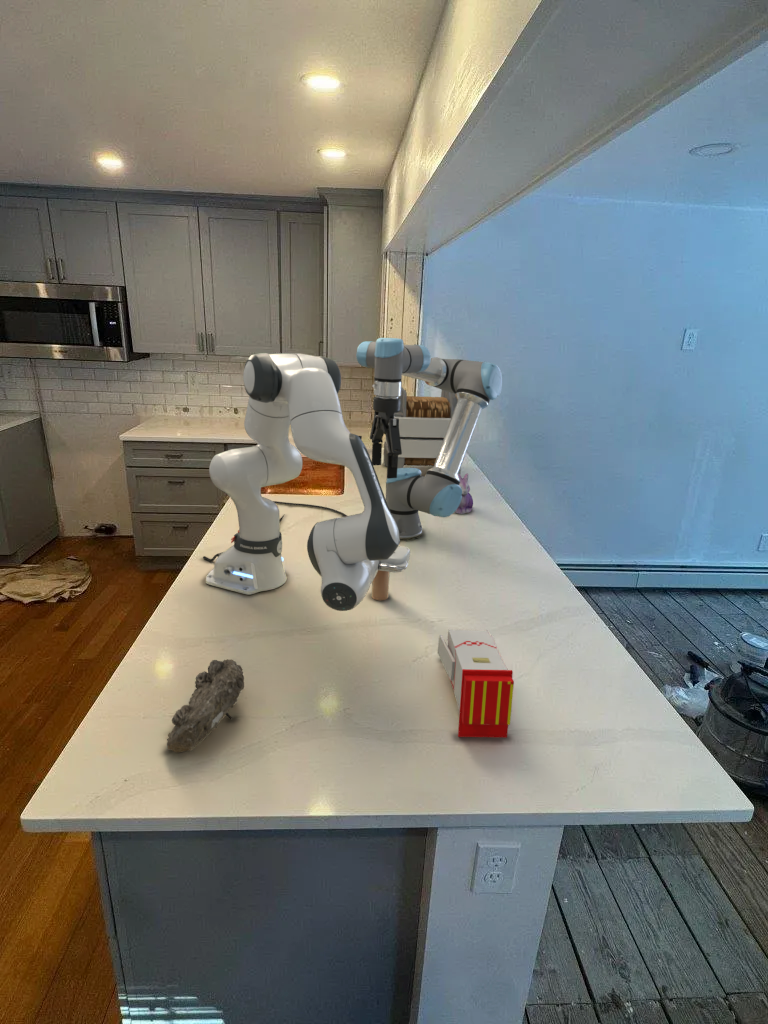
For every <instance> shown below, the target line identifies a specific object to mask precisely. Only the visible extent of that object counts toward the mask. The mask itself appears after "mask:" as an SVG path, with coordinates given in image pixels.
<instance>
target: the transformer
mask: <svg viewBox="0 0 768 1024" xmlns="http://www.w3.org/2000/svg"><path fill="white" fill-rule="evenodd" d="M440 393H441V394H440V396H415V395H414V396H413V395H412V396H411V395H407V394H408V393H407V390H406V389H404V388H403V387H401V396H399V398H400V399H401V402H400V411H399V412H395V413H394V418H398V419H399V433H400V442H401V450H402V454H401V455H398V466H397V469H398V468H405V466H406V467H407V466H411V467H412V466H413V467H415V466H416V467H417V466H418V467H434V464H435V461H436V458H437V456H438V453H439V450H440V448H441V445H442V442H443V439H444V437H445V434H446V431H447V428H448V426H449V423H450V420H451V418H452V415H453V412H454V409H455V407H456V404H457V399H456V397H455V394H454V393H450V392H447V391H444V390H442V389H441V392H440ZM388 453H389V450H388V445H387V440H386V437H385V438H384V442H383V466H384V467H387V462H388V456H387V454H388ZM461 472H462V467H461V468H460V471H459V473H458V474H460V475H461Z"/></svg>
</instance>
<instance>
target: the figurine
mask: <svg viewBox="0 0 768 1024" xmlns="http://www.w3.org/2000/svg"><path fill="white" fill-rule="evenodd" d="M458 478H459V480H460V484H459V486H460V487H461V489H462V499H461V502H460V505H459V507H458V508H457V510H456V511H455V512H454V513H455V514H460V515H464V514H469V513H471V512H472V511H473V507H474V499H473V496H472V495H471V493H470V491H471V487H470V484H469V482H468V480H469V473H465V474H464V476H463V477H462V475H461V474H458Z"/></svg>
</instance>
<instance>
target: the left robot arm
mask: <svg viewBox="0 0 768 1024" xmlns="http://www.w3.org/2000/svg"><path fill="white" fill-rule="evenodd" d="M242 373H243V374H242V381H243V387H244V390H245V393H246V394H247V395H248V402H247V406H246V411H245V417H244V423H243V426H244V430H245V433H246V434H247V436H248V437H249V438H250V439H251V440H253V441H254V442H256V443H257V444H256V445H253V446H248V447H247V446H246V447H239V448H231V449H228V450H225V451H222V452H220V453H217V454H215V455H214V456H213V457H212V459H211V461H210V462H209V467H208V474H209V477H210V480H211V482H212V484H213V485H214V486H215V487H216V488H217V489H218V490H219V491H222V492H223V493H224V494H226V496H228V497H229V498H230V499H231V500H232V502H233V503H234V505H235V508H236V509H235V510H236V513H237V519H238V530H237V532H236V533H235V534H234V535H233V537H231V539H230V543H231V544H232V543H234V544H233V545H231V546H230V547H229V548H227V549H226V550H224V551H221V552H219V553H216V554H214V556H213V557H212V558H210V557H207V556H205V555H203V556H202V559H203V560H206V561H207V562H213V561H214V566H213V569H211V570H210V571H209V572H208V573H207V575H206V576H205V584H206V585H209V586H213V587H217V588H221V589H224V590H228V591H232V592H236V593H239V594H243V595H249V596H250V595H251V596H252V595H254V594H257V593H259V592H266V591H271V590H274V589H278V588H279V587H281V586H283V585H284V584H286V582H287V580H288V579H287V578H288V577H287V574H286V571H285V567H284V563H283V562H284V557H283V556H282V552H283V537H282V532H281V522H280V519H281V517H280V508H279V506H278V505H277V503H275V502H273V501H274V500H271V499H269V498H268V497H264V496H262V488H264V487H270V486H275V485H281V484H285V483H287V482H289V481H292V480H294V479H296V478H298V477H299V476H300V474H302V473H301V472H302V470H303V457H302V455H303V456H305V457H306V458H308V459H310V460H313V461H315V462H318V463H319V462H320V463H323V464H324V463H325V464H332V465H339V466H343V467H345V468H347V469H348V470H349V471H350V472H351V474H352V476H353V479H354V481H355V484H356V487H357V491H358V493H359V496H360V499H361V501H362V504H363V507H364V508H363V511H362V512H360V513H355V514H350V515H347V516H346V517H345V516H342V517H334V518H330V519H326V520H321V521H317V522H316V523H315V524H314V525H313V526H312V528H311V530H310V532H309V535H308V539H307V543H306V551H307V554H308V559H309V560H310V563H311V566H312V567H313V569H314V570H315V571H316V573H317V574H318V575H319V576H320V578H321V586H320V596H321V599H322V601H323V603H324V604H325V605H326V606H327V607H329V608H331V609H332V610H334V611H340V612H346V611H351V610H353V609H354V608H356V607H358V606H359V605H360V604H361V602H362V601H363V600H364V599H365V597H366V595H367V594H368V591H369V590H370V587H371V585H372V582H373V580H374V578H375V576H376V574H377V572H378V570H380V571H388V572H390V573H401V572H403V571H404V570H406V569H407V568H408V565H409V563H410V559H411V558H410V557H411V550H410V548H409V547H407V546H401V545H400V543H401V540H400V538H399V530H398V527H397V525H396V522H395V520H394V518H393V516H392V514H391V512H390V509H389V507H388V505H387V502H386V496H385V495H384V494H385V493H384V492H383V489H382V486H381V483H380V481H379V477H378V474H377V472H376V468H375V465H374V466H373V464H372V458H371V457H370V454H369V450H368V449H367V447H366V445H365V443H364V442H363V440H362V439H360V437H359V436H360V435H358V434H355V433H351V432H350V430H349V429H348V427H347V425H346V423H345V421H344V416H343V411H342V406H341V402H340V398H339V395H338V394H339V392H340V391H341V390H340V389H341V385H342V374H341V370H340V368H339V365H338V364H337V362H336V361H335V360H334V359H332V358H330V357H326V356H322V355H318V356H316V355H311V354H306V353H298V352H292V353H282V352H281V353H268V352H259V353H254V354H251V355H250V356H249V357H248V358H247V360H246V361H245V364H244V366H243V372H242ZM290 430H291V436H292V440H293V443H294V445H293V444H292V443H291V442H290V438H289V436H290V435H289V434H290Z"/></svg>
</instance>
